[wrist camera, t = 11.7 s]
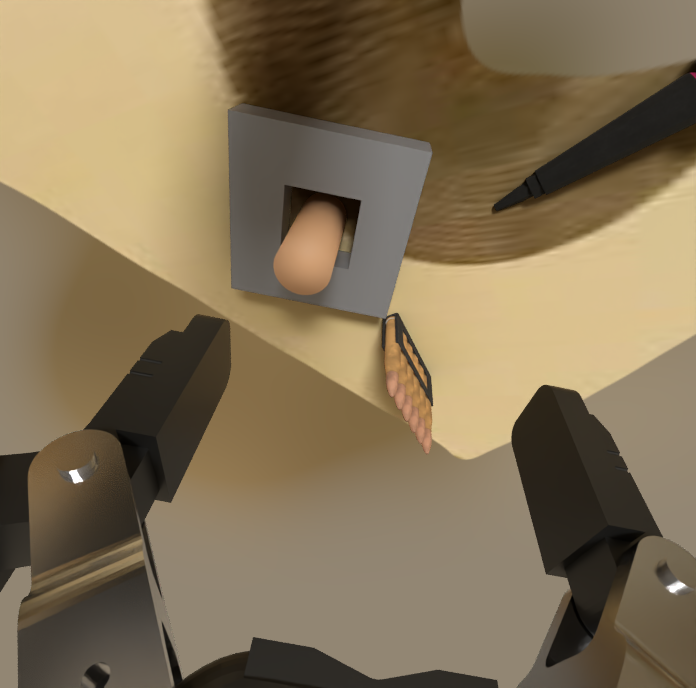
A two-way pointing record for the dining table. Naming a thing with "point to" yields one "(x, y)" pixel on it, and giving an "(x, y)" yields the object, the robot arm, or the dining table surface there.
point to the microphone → (615, 140)
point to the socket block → (328, 177)
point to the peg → (311, 245)
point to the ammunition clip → (407, 379)
